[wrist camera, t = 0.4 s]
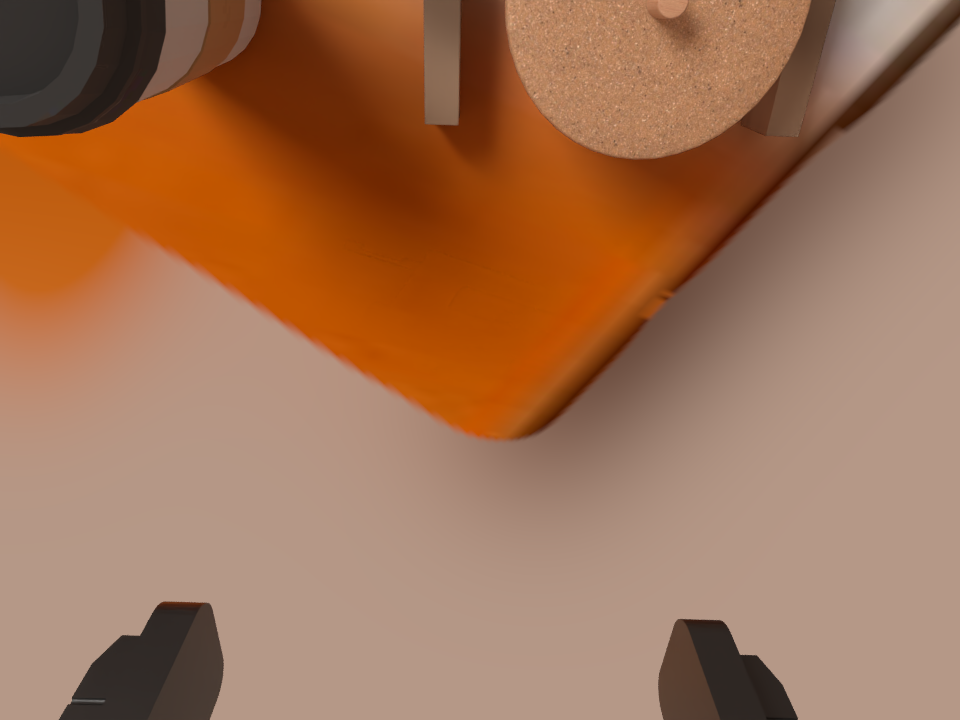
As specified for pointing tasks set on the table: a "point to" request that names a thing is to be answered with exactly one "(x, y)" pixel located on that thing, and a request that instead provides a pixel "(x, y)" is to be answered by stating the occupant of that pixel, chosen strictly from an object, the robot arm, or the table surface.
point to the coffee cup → (107, 56)
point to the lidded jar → (650, 67)
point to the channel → (768, 117)
